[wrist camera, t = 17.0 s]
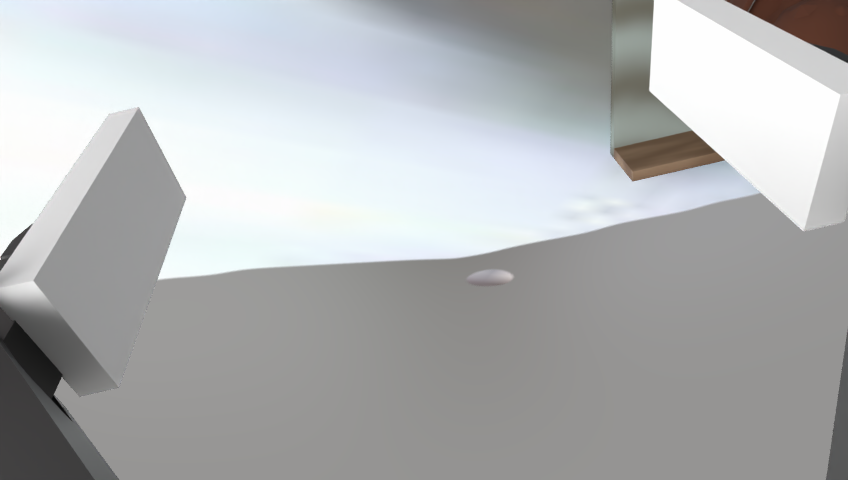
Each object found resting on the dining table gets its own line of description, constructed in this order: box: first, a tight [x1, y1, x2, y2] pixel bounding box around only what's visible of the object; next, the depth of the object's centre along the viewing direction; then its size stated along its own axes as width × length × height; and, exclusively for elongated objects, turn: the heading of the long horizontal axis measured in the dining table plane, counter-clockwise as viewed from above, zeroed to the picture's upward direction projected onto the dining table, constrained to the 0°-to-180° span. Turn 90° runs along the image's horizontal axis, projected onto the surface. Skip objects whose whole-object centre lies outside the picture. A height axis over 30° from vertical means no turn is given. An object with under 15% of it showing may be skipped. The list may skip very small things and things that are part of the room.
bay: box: [610, 0, 725, 181], centre depth 45 cm, size 24×17×5 cm
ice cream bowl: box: [725, 0, 848, 55], centre depth 41 cm, size 11×11×15 cm
